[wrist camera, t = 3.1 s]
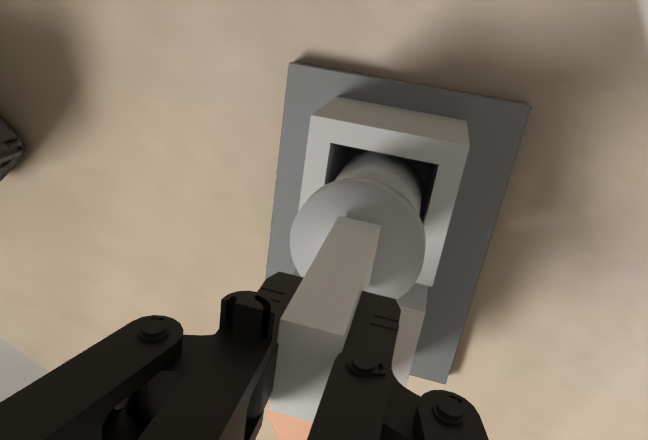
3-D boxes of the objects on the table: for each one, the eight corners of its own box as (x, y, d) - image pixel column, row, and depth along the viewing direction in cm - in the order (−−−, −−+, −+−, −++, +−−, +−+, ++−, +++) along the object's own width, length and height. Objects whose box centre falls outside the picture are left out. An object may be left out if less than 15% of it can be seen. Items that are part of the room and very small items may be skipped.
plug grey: (336, 131, 23) (298, 171, 17) (442, 152, 22) (439, 201, 17) (321, 227, 25) (282, 290, 19) (418, 249, 24) (408, 322, 18)
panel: (293, 61, 27) (252, 74, 21) (528, 103, 25) (549, 129, 19) (263, 327, 34) (227, 388, 28) (445, 376, 32) (444, 451, 26)
